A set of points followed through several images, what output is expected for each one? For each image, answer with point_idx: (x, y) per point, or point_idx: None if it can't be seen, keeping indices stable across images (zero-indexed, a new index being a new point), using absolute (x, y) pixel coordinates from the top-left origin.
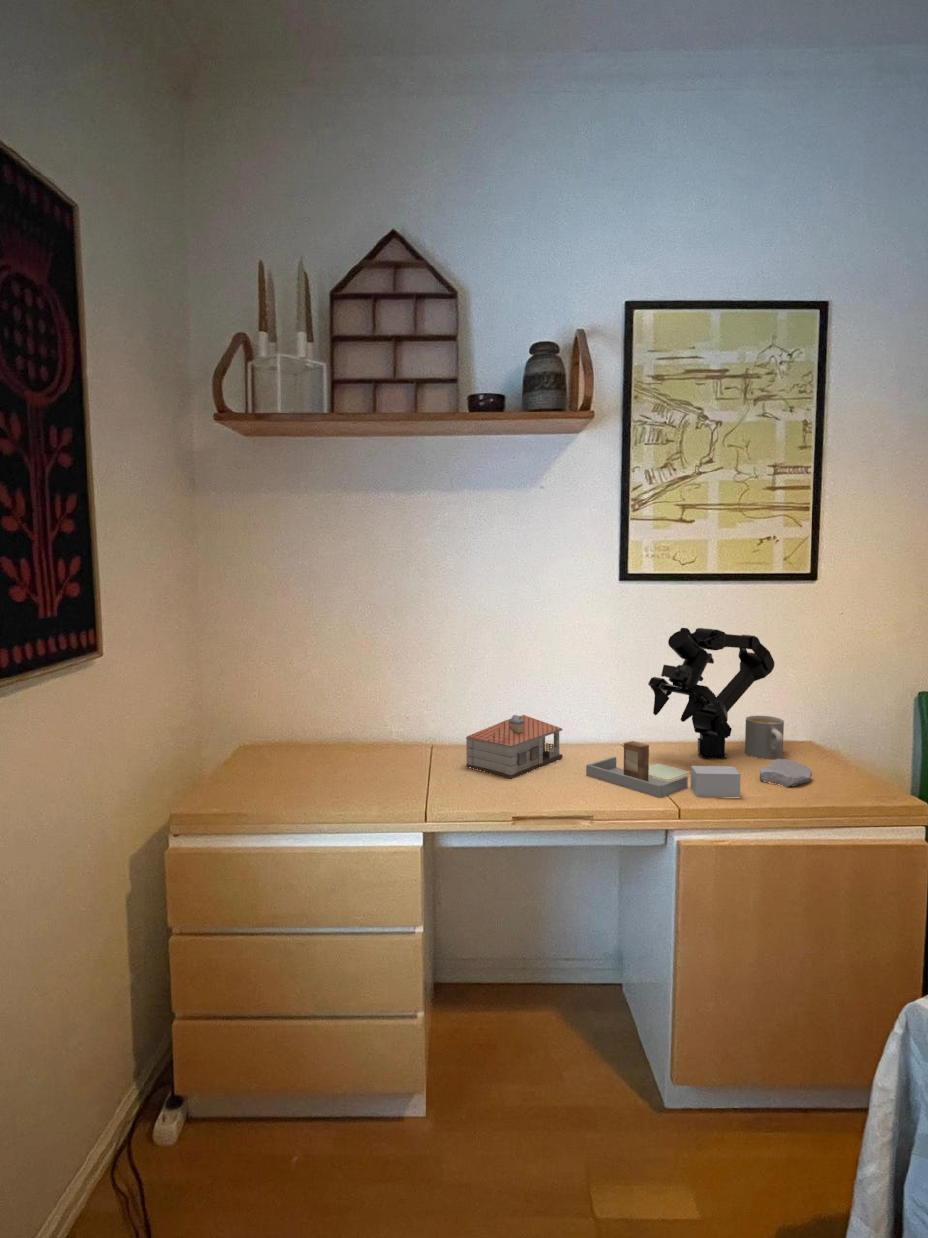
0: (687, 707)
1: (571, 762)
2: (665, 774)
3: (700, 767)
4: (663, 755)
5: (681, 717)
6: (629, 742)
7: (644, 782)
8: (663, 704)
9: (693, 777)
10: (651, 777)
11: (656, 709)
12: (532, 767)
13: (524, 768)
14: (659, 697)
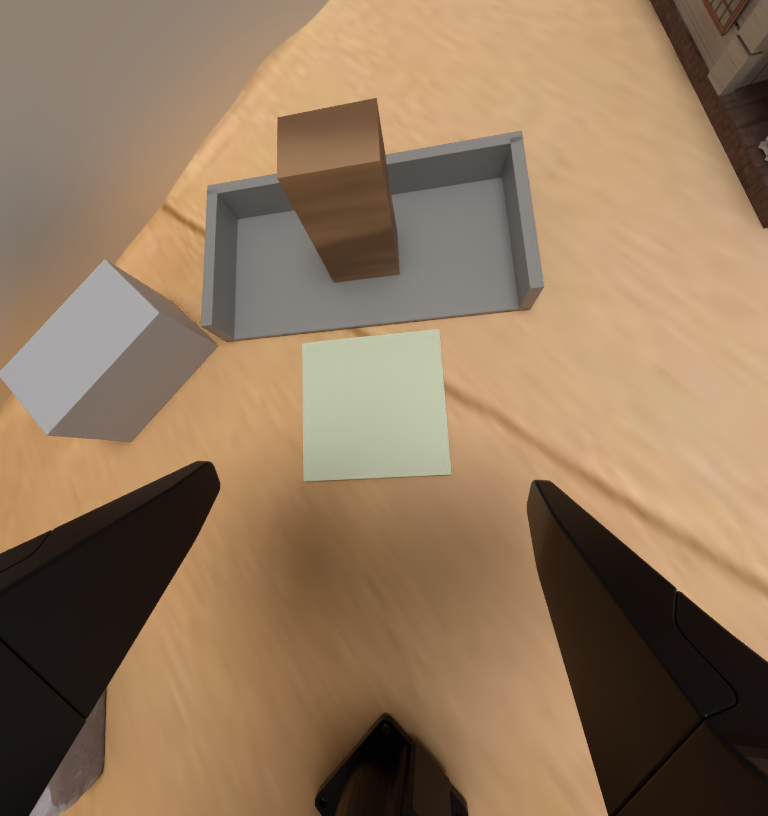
0: (50, 540)
1: (689, 225)
2: (343, 383)
3: (125, 323)
4: (537, 620)
5: (192, 471)
6: (368, 128)
7: (265, 177)
8: (588, 721)
9: (158, 302)
10: (356, 323)
11: (547, 523)
12: (689, 46)
13: (680, 3)
14: (676, 712)
